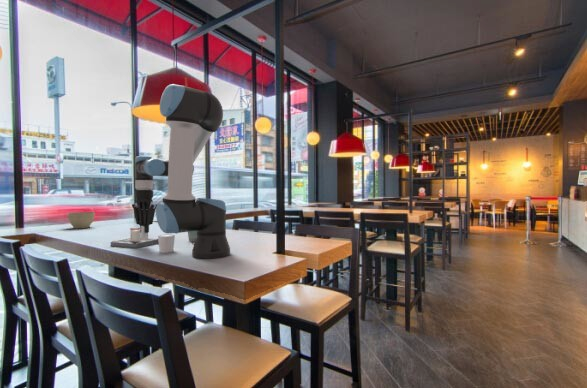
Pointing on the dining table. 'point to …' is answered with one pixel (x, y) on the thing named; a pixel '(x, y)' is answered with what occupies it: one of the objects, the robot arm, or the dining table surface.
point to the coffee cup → (192, 236)
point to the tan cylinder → (135, 229)
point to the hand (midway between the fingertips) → (144, 239)
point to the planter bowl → (81, 219)
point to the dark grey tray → (134, 243)
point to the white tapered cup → (166, 243)
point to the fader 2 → (135, 235)
